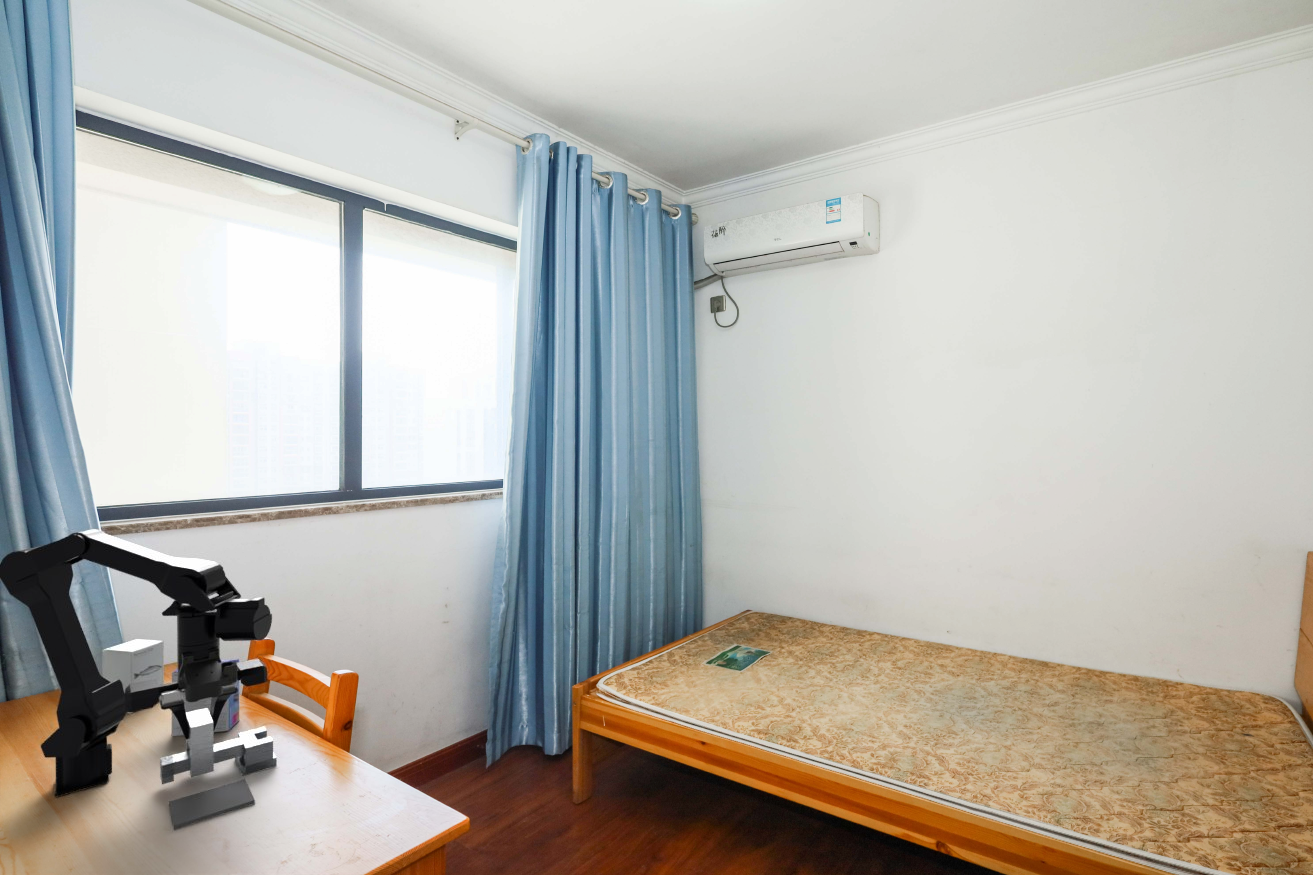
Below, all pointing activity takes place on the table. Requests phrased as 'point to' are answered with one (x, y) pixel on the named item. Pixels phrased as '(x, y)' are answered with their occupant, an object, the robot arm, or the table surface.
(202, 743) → the brushed aluminum pillar
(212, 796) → the mat
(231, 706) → the ink cartridge box
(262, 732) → the vise
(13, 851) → the table surface
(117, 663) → the supplement box
